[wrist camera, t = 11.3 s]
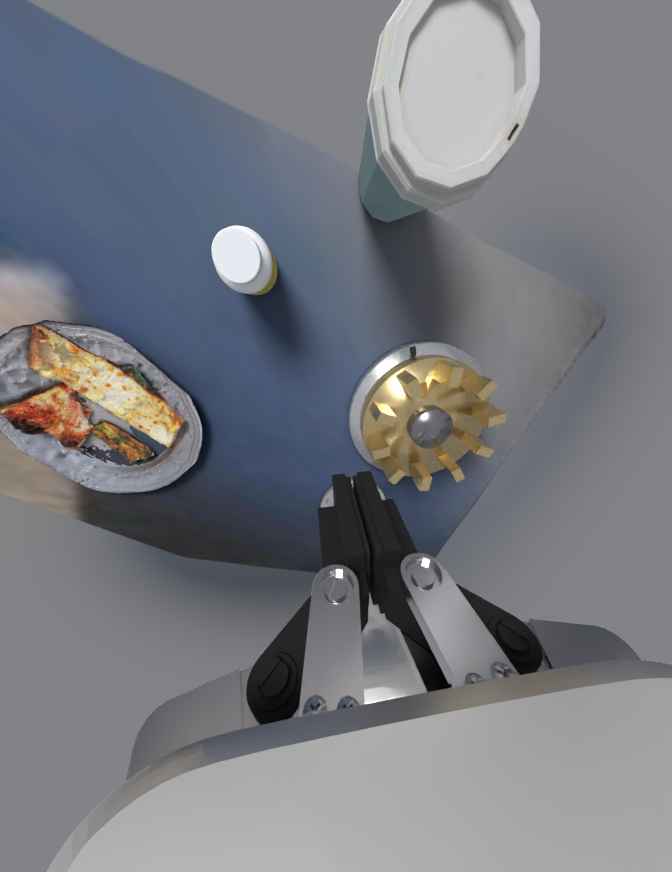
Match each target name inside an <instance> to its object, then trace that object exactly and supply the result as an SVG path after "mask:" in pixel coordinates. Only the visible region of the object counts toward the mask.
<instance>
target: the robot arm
mask: <svg viewBox="0 0 672 872" xmlns="http://www.w3.org/2000/svg"><path fill="white" fill-rule="evenodd" d="M332 484H333V486H332V487H331V488H330V489H329V490H328V491H327V492H326V493H325V494H324V496H323V498H322V500H321V504H320V508H318V515H319V527H320V540H321V552H322V564H323V569H322V570H321V571H320V572H318V574H317V575H316V577H315V579H314V582H313V586H312V595H311V596H310V597H309V598H308V600H307V601H306V602H305V603H304V604H303V606H302V607H301V608H300V609H299V610H298V612H297V613H296V614H295V615H294V616H293V618H292V619H291V620H290V621H289V622H288V624H287V625H286V626H285V627H284V628H283V630H282V631H281V632H280V633H279V635H278V636H277V637H276V638H275V639H274V641H273V642H272V643H271V644H270V645H269V647H268V648H267V649H266V650H265V651H264V653H263V654H262V655H261V656H260V657H259V659H258V660H257V662H256V663H255V664H254V665H253V666H250V667H248V668H246V669H244V670H242V671H241V670H240V668H239V669H236V670H234V671H232V672H230V673H228V674H225V675H223V676H221V677H219V678H217V679H214V680H212V681H210V682H208V683H205V684H203V685H201V686H199V687H197V688H194V689H192V690H190V691H188V692H186V693H183V694H181V695H179V696H177V697H175V698H172V699H170V700H168V701H166V702H165V703H163V704H162V705H160V706H159V707H158V708H156V709H155V710H154V711H153V712H152V714H151V715H150V716H149V717H148V718H147V719H146V721H145V722H144V724H143V726H142V727H141V729H140V731H139V732H138V735H137V738H136V741H135V744H134V747H133V751H132V755H131V760H130V765H129V770H128V774H127V780H126V782H125V783H123V784H122V785H121V786H119V787H118V788H116V789H115V790H114V791H113V792H112V793H111V794H110V795H108V796H107V797H106V798H105V799H104V800H103V801H102V802H101V803H100V804H99V805H97V806H96V807H95V808H94V809H93V810H92V811H91V812H90V814H88V816H86V818H85V819H84V820H83V821H82V822H81V823H80V824H79V825H78V826H77V828H76V829H75V830H74V831H73V833H72V834H71V835H70V836H69V838H68V839H67V841H66V842H65V844H64V845H63V846H62V848H61V849H60V851H59V852H58V854H57V855H56V857H55V858H54V860H53V861H52V863H51V865H50V866H49V868H48V870H47V872H672V665H670V664H665V663H661V662H654V661H646V660H641V659H640V658H639V656H638V655H637V654H636V653H635V651H634V650H633V649H632V648H631V647H630V646H629V645H628V644H627V643H626V642H625V641H623V640H622V639H621V638H620V637H619V636H617V635H616V634H614V633H612V632H610V631H609V630H607V629H605V628H601V627H598V626H593V625H583V624H574V623H564V622H554V621H544V620H534V619H529V620H528V622H523V621H520V620H519V619H518V618H516V617H515V616H513V615H511V614H509V613H508V612H506V611H504V610H502V609H500V608H499V607H497V606H495V605H493V604H491V603H490V602H488V601H486V600H484V599H483V598H481V597H479V596H477V595H475V594H474V593H472V592H470V591H468V590H466V589H464V588H463V587H461V586H459V585H458V584H455V583H454V581H453V580H452V578H451V577H450V575H449V574H448V573H447V571H446V570H445V568H444V567H443V566H442V565H441V564H440V563H439V561H438V560H436V559H435V558H433V557H432V556H429V555H427V554H423V553H417V550H416V548H415V546H414V544H413V542H412V540H411V537H410V535H409V533H408V531H407V529H406V526H405V524H404V522H403V520H402V518H401V516H400V513H399V511H398V509H397V507H396V505H395V503H394V501H393V500H392V499H387V500H386V499H385V496H384V493H383V492H382V490H381V488H380V487H379V486H378V485H376V484H375V481H374V479H373V476H372V474H371V472H370V471H365V472H358V473H357V476H353V479H350V477H345V474H338V475H332ZM362 632H363V633H364V634H366V635H364V636H362V637H361V633H362Z"/></svg>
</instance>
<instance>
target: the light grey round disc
mask: <svg viewBox="0 0 672 872" xmlns="http://www.w3.org/2000/svg"><path fill="white" fill-rule="evenodd" d="M430 354H433V355H442V356H447V357H450V358H453V359H455V360H458V361H460V362H463V363H465V364H466V365H468V366H470V367H471V368H473V369H474V370H475V371H476V372H477V373H478V374H480V375H482V376H484V374H483V372H482V370H481V368H480V366H479V365H478V363H477V362H476V361H475V360H474V359H473V358H472V357H471V356H470V355H469V354H467V353H466V352H465V351H463V350H461V349H459V348H457V347H455V346H452V345H449V344H445V343H442V342H437V341H416V342H411V343H407V344H404V345H401V346H398V347H396V348H394V349H392V350H390V351H388V352H387V353H385V354H384V355H382V356H381V357H379V358H378V359H377V360H376V361H374V362H373V363H372V364H371V365H370V366H369V367H368V368H367V369H366V371H365V372H364V373H363V375H362V376H361V377H360V379H359V381H358V382H357V384H356V386H355V388H354V390H353V392H352V395H351V398H350V402H349V407H348V426H349V431H350V434H351V437H352V440H353V442H354V444H355V447H356V449H357V450H358V452H359V453H360V455H361V456H362V457H363V458H364V459H365V460H366V461H367V462H369V463H370V464H371V465H373V466H375V467H376V468H378V469H381V470H383V469H382V467H381V466H379V465H378V464H377V463H376V462H375V461H374V460H373V459H372V457H371V456H370V455H369V453H368V451H367V449H366V446H365V444H364V442H363V439H362V436H361V431H360V414H361V410H362V406H363V403H364V401H365V398H366V396H367V394H368V392H369V391H370V389H371V388H372V386H373V385H374V384H375V382H376V381H377V380H378V379H379V378H380V377H381V376H382V375H383V374H384V373H385V372H387V371H388V370H389V369H390V368H392V367H393V366H395V365H396V364H398V363H400V362H402V361H404V360H407V359H410V358H412V357H416V356H421V355H430ZM484 377H485V376H484Z"/></svg>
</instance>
